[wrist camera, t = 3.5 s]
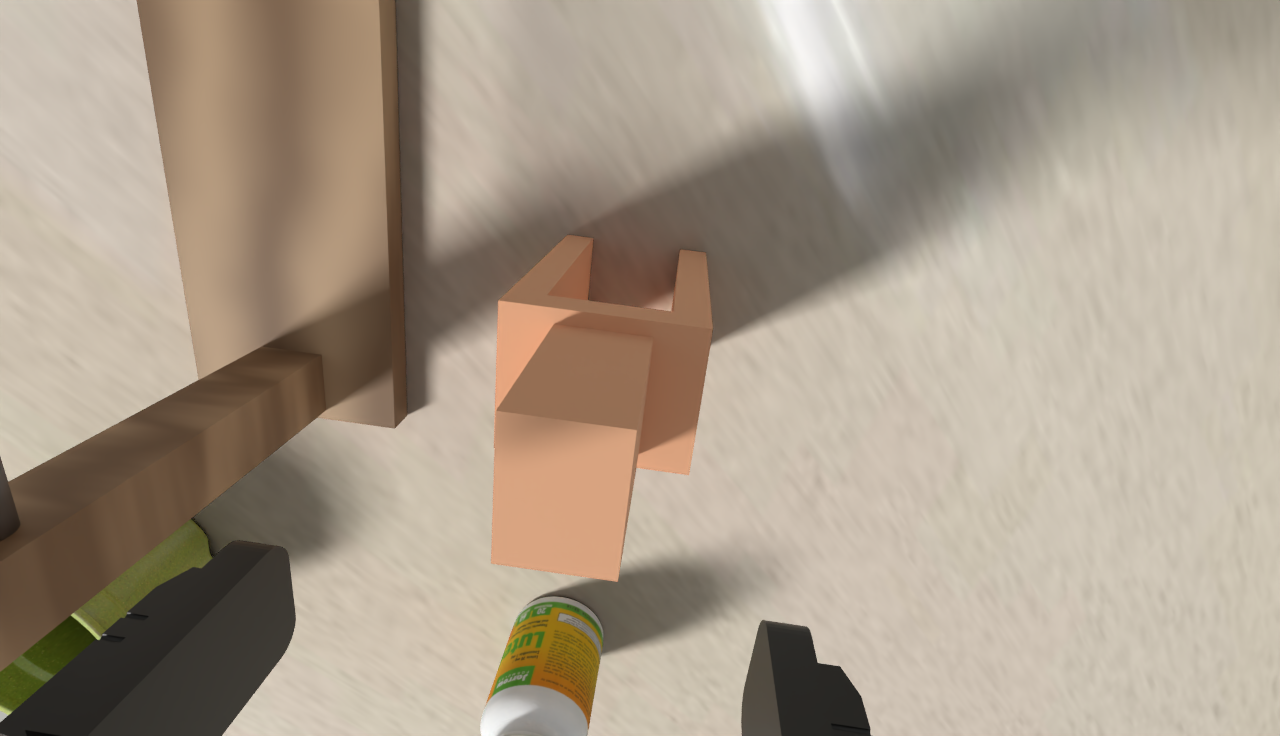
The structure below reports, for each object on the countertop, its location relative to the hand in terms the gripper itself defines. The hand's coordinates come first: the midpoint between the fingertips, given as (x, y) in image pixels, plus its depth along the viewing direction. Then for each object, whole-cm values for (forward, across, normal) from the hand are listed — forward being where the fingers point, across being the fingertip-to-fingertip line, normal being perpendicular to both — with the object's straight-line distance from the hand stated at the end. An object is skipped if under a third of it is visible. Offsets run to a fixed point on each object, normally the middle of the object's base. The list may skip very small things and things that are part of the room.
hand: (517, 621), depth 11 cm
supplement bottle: (+21, +2, +21) cm, 30 cm away
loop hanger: (+21, 0, 0) cm, 21 cm away
